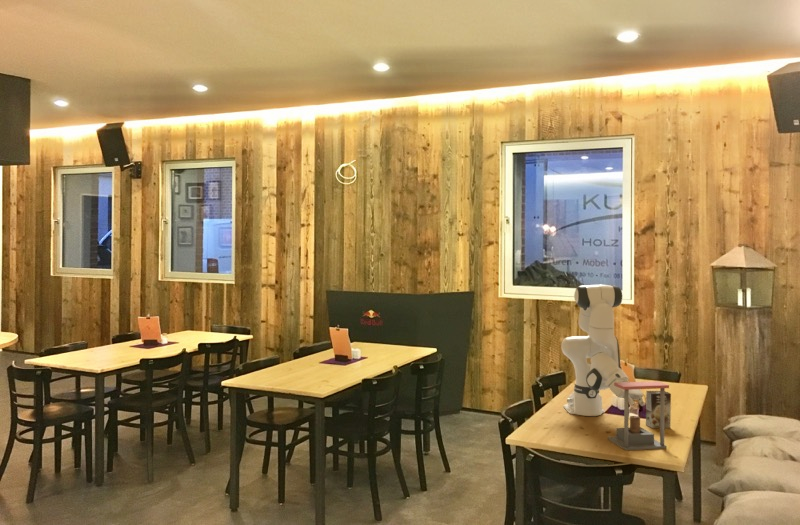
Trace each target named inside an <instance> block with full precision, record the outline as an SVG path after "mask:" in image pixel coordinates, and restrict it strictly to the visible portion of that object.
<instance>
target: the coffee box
mask: <svg viewBox="0 0 800 525" xmlns="http://www.w3.org/2000/svg"><path fill="white" fill-rule="evenodd" d="M645 394H646V395H645V396H646V399H645V406H646V407H645V425H646V426H648V427H649V428H651V429H656V428H657V429H660V390H646V393H645ZM671 400H672V394H671V393H670V392H668V391H666V390H665V410H664V429H671V415H672V414H671V413H672V412H671V410H672V406H671V405H672V401H671Z"/></svg>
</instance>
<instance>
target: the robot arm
mask: <svg viewBox="0 0 800 525" xmlns="http://www.w3.org/2000/svg"><path fill="white" fill-rule="evenodd" d="M573 297H574V301H575V304H576V305H577V306H578V307H579V314H578V322H577V323H578V327H579V329H580V330H582V331H583V332H586V334H588V335H572V336H569V337H568V336H567V337H564V338H563V340H562V341H561V344H560V346H561V348H560V349H561V352H562V354H563V355H564V356H565V357H567V358H568V359H569V360H570V361H571V364H573V368H574V371H575V383H574V386H573V387H574V388H573V392H572V393H570V395H568V398H566V402H567V404H563V408H564V409H565V410H566V411H567V412H568V413H569V414H571V415H579V416H586V417H596V416H601V415H602V414H604V413H605V411H606V410H605V409H603V399H602V395H601V394H600V391H602V390H607V389H609V390H610V391H611V392H612V393H613V394H614V396H616V397H617V398H619V399H624V390H623V389H621V388H619V387H616V386H614V383H623V382H629V379H630V377H629V376H628V375H627V374H626V373H625V370H623V369H622V368H621V358H620V357H621V356H620V345H619V340H618V337H617V336H616V335H615V312H614V308H616V307H619V306H620V305H621V303H622V301H623V291H622V289H621V288H620V286H618V285H615V284H611V285H608V284H590V285H589V284H588V285H585V284H584V285H583V284H581V285H579V286H577V287H576V289H575V291H574V294H573ZM588 359H590V363H588ZM643 397H644V392H643V391H642V389H630V390H629V402H628V404H630V405H631V406H635V405H636V402H635V401H634V400H636V401H637V402H638V405H640V406H641V407H645V406H646V401H644V398H643Z"/></svg>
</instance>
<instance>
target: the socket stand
mask: <svg viewBox="0 0 800 525" xmlns="http://www.w3.org/2000/svg"><path fill="white" fill-rule="evenodd" d="M614 386H616V387H619V388H621V389H623V390H624V398H623V399H624V402H623V403H624V411H623V413H624V414H623V417H624V418H623V419H624V420H623V422H624V426H623V427H616V430H615V433H616V434H615V435H616V436H607V441H610V442H612V443H613V444H615V445H617V446H618V447H620V448H621V449H622V450H624V451H640V450H643V451H644V450H659V449H661V450H663V449H667V445H666V444H665V428H664V410H665V391H666V390H665V389H669V388H670V384H666V383H664V382H661V381H653V380H652V381H628V382H623V383H614ZM630 389H640V390H651V389H658V390H659V389H660V390H659V391H660V428H659V430H660V431H659V436H660V437H659V440H656V439H655V434H654V433H652V432H651V431H649V430H647V429H645V428H643V427H641V426H640V433H630V427H629V390H630Z"/></svg>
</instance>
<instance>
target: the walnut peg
mask: <svg viewBox="0 0 800 525" xmlns="http://www.w3.org/2000/svg"><path fill="white" fill-rule="evenodd" d="M640 427H641V417H640V416H639V415H638V416H637V415H630V416H629V428H630V433H640Z"/></svg>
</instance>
